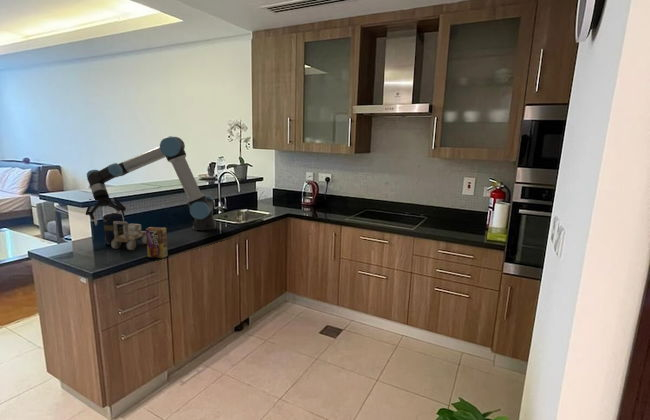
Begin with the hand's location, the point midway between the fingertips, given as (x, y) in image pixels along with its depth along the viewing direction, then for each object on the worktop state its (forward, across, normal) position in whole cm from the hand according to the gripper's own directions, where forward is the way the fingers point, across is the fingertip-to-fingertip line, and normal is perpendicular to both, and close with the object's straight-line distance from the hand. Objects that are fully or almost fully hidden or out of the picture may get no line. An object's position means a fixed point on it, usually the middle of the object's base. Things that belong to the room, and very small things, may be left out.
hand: (110, 222), depth 197 cm
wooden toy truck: (+18, -6, +1) cm, 19 cm away
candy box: (+37, -10, +20) cm, 44 cm away
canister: (+11, -1, -7) cm, 13 cm away
